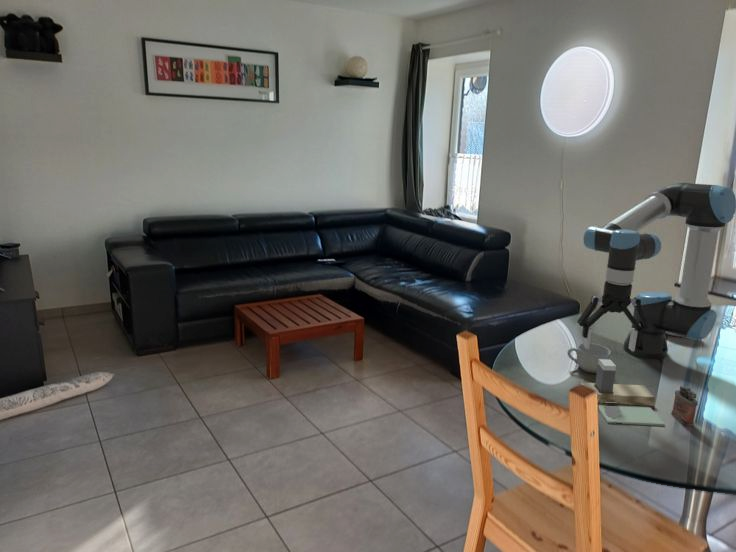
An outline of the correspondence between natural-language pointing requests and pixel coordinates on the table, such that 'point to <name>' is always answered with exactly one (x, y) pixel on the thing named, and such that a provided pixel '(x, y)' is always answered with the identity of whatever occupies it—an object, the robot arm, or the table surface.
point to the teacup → (589, 356)
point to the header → (625, 394)
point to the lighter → (684, 406)
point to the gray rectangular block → (605, 376)
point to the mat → (633, 416)
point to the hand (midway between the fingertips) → (608, 348)
